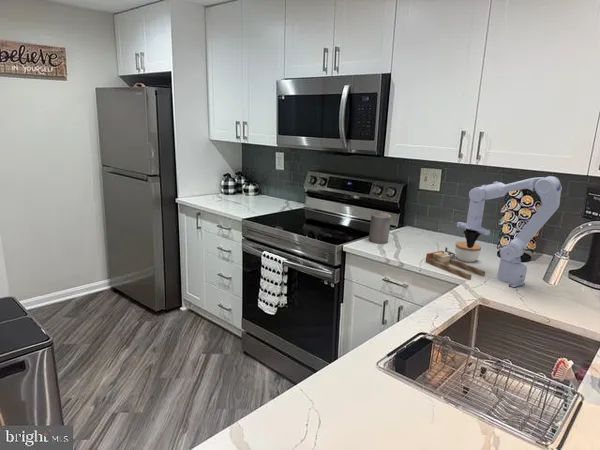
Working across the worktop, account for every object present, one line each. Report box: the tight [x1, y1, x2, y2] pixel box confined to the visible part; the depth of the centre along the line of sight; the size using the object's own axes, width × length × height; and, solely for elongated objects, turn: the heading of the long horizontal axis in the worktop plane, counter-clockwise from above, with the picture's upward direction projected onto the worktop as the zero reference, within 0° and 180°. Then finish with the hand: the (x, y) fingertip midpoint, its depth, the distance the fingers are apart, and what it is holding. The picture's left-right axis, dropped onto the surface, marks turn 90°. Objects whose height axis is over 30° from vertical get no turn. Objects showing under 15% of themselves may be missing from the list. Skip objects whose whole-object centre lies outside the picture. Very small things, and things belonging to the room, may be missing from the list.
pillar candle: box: [368, 212, 392, 245], centre depth 215 cm, size 10×10×15 cm
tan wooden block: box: [433, 252, 451, 266], centre depth 185 cm, size 5×5×4 cm
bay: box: [425, 250, 486, 281], centre depth 180 cm, size 22×10×5 cm, turn 33°
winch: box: [444, 247, 456, 260], centre depth 191 cm, size 5×3×6 cm, turn 33°
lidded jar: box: [454, 241, 482, 263], centre depth 192 cm, size 11×11×9 cm
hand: (469, 247), depth 181 cm, fingers closed
